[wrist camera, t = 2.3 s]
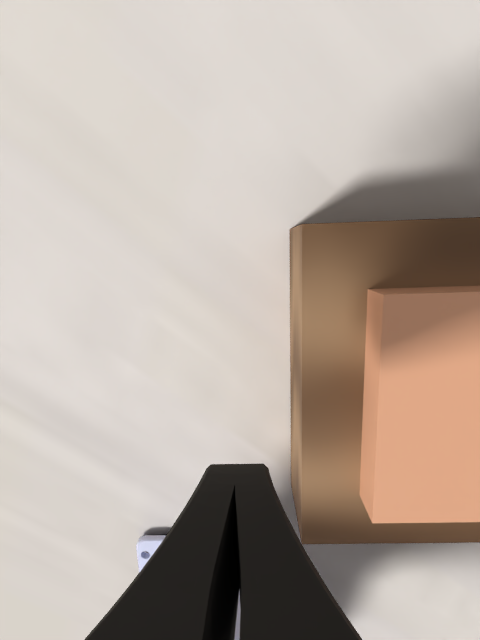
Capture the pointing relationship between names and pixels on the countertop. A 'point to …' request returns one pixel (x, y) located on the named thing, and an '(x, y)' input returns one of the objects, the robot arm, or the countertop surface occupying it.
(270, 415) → the countertop surface
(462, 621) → the countertop surface
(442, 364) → the tile
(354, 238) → the board
